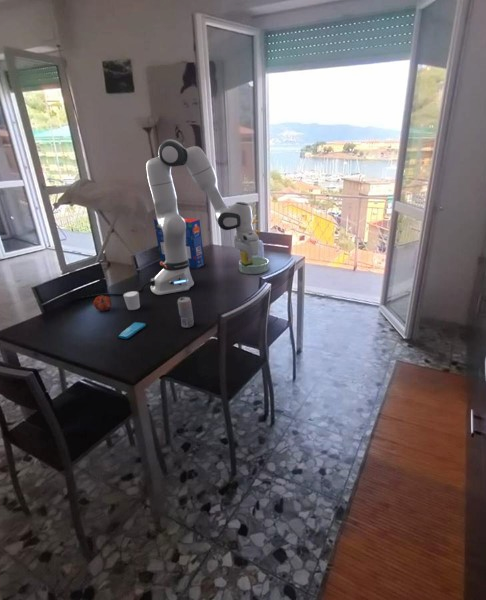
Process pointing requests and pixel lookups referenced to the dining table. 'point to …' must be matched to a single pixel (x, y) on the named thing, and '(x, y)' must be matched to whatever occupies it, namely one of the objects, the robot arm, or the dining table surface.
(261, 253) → the soap bottle
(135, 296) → the white cylinder
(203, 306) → the dining table surface
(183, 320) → the energy drink
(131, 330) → the sponge
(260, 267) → the basin
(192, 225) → the pasta box
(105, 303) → the pomegranate
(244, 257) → the scrub block
